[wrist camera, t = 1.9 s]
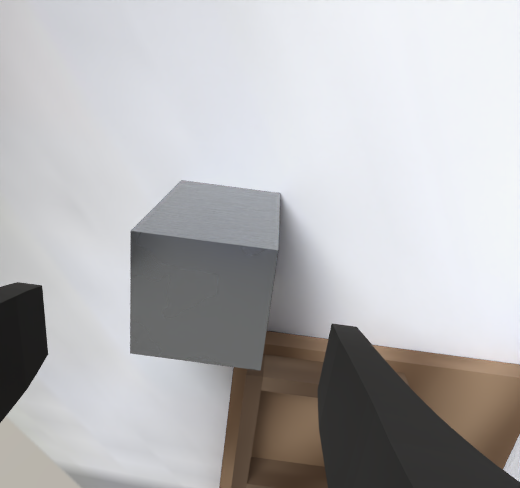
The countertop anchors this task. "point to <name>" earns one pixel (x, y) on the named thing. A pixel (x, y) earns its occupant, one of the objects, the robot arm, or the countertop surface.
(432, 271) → the countertop surface
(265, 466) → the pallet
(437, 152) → the countertop surface
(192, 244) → the block
